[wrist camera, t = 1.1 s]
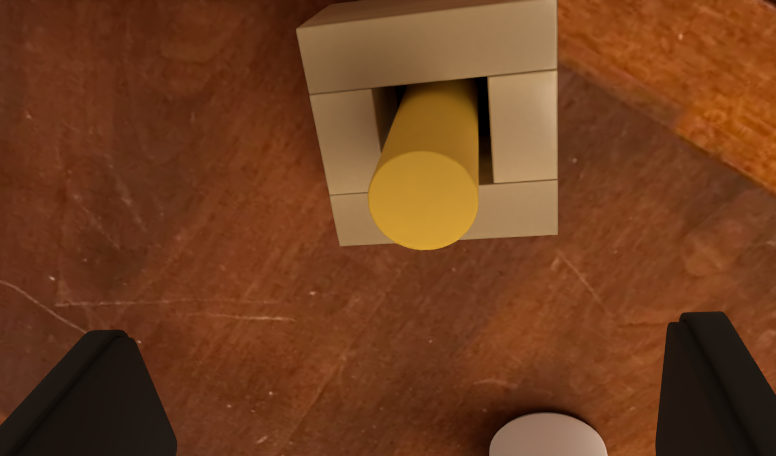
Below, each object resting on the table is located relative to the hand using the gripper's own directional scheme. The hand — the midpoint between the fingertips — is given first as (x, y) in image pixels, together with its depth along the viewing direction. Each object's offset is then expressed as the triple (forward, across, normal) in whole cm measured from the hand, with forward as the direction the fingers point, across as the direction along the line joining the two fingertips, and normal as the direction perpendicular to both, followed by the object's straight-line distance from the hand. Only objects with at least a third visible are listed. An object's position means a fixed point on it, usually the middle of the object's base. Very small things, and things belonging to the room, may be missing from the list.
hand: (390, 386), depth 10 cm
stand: (+16, 0, -1) cm, 17 cm away
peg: (+16, 0, -1) cm, 17 cm away
